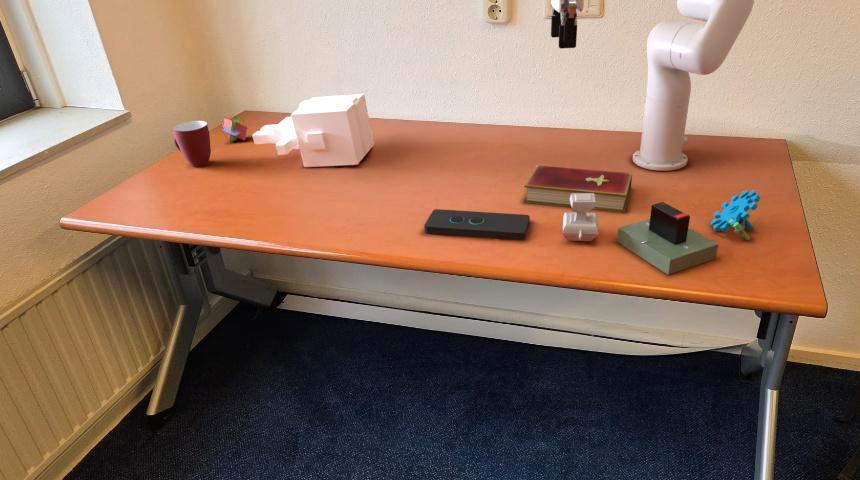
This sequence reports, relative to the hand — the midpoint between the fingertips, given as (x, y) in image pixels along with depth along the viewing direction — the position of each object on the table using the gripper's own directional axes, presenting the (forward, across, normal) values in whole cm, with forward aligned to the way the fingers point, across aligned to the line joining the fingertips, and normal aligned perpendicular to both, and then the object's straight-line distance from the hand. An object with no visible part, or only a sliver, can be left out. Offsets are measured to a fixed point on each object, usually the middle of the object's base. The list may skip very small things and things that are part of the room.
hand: (562, 42), depth 127 cm
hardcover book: (+32, -1, -5) cm, 32 cm away
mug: (+32, +29, +87) cm, 98 cm away
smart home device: (+32, -14, +18) cm, 39 cm away
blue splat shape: (+32, -20, -31) cm, 49 cm away
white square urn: (+32, -20, -2) cm, 38 cm away
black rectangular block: (+29, -27, -16) cm, 42 cm away
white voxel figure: (+32, +30, +57) cm, 72 cm away
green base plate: (+32, -27, -16) cm, 44 cm away
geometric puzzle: (+32, +46, +81) cm, 99 cm away
